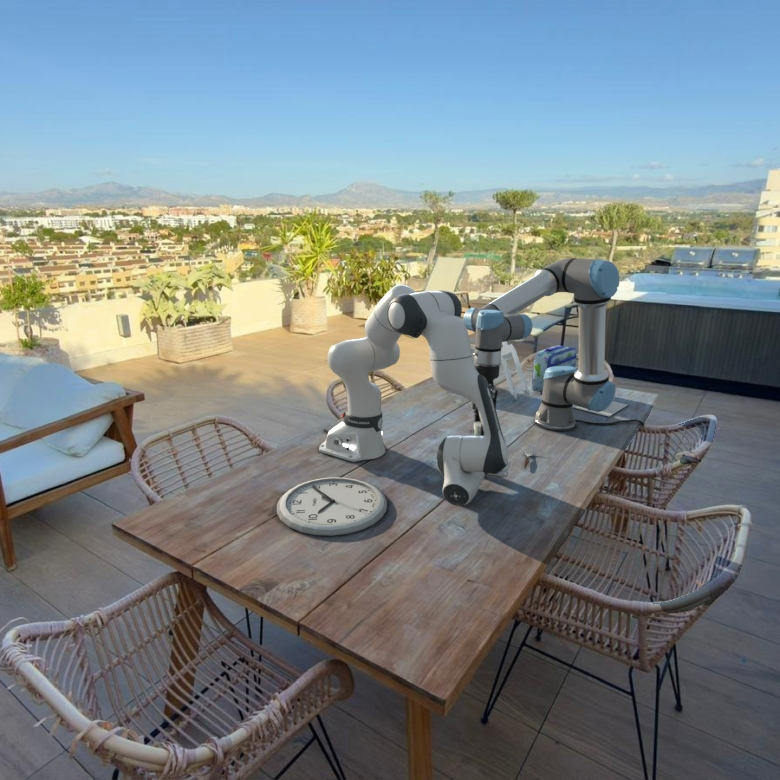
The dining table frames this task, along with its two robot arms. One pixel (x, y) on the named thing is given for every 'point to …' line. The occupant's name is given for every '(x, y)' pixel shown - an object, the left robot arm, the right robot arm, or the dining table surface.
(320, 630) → the dining table surface
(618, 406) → the invitation card
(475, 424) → the lid
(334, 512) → the wall clock
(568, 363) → the lunch box
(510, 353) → the white plastic object
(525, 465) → the fork
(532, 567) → the dining table surface
